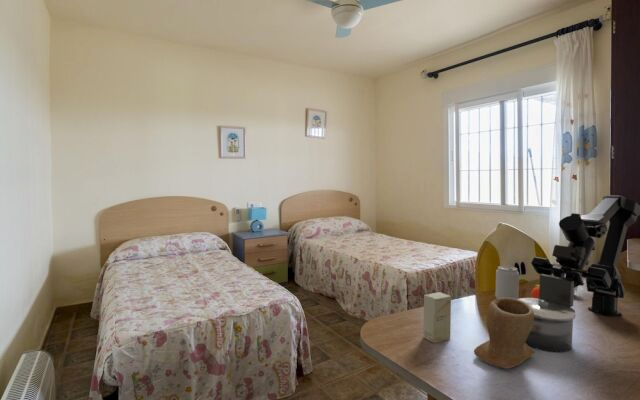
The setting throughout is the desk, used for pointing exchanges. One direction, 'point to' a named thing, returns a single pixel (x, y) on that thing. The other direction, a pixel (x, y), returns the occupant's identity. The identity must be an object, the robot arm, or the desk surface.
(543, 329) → the pot
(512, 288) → the can
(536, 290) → the clementine
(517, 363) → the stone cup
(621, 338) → the desk surface
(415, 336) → the desk surface
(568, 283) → the lid
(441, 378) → the desk surface
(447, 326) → the skincare box
